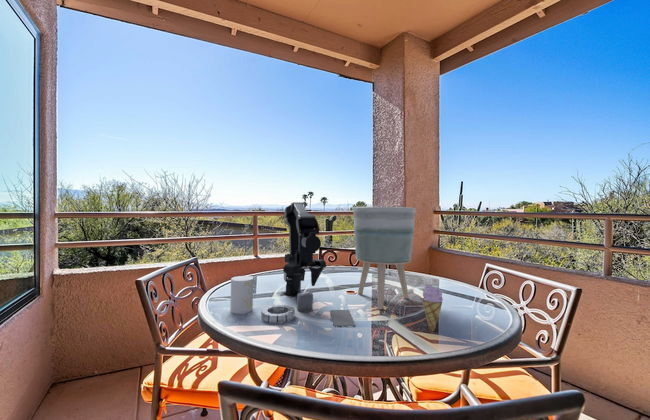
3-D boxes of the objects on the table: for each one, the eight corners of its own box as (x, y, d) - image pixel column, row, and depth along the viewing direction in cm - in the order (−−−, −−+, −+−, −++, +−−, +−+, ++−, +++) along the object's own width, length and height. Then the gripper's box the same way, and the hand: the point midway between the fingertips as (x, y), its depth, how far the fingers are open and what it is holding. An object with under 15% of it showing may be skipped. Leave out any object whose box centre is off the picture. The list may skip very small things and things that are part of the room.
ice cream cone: (418, 326, 96) (418, 281, 96) (435, 325, 97) (436, 281, 97) (426, 334, 90) (427, 286, 90) (445, 334, 90) (446, 286, 90)
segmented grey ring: (279, 309, 110) (279, 302, 110) (300, 316, 103) (301, 309, 103) (254, 317, 101) (255, 310, 101) (276, 326, 94) (277, 318, 94)
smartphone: (333, 325, 94) (329, 309, 109) (333, 328, 94) (329, 312, 109) (355, 325, 95) (349, 309, 110) (355, 328, 95) (349, 312, 110)
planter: (418, 297, 130) (420, 208, 130) (406, 315, 106) (408, 207, 106) (363, 288, 142) (364, 207, 142) (341, 303, 118) (343, 206, 119)
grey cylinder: (246, 314, 104) (247, 281, 104) (226, 312, 106) (226, 280, 106) (256, 307, 112) (256, 276, 112) (237, 305, 114) (237, 275, 114)
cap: (304, 306, 114) (304, 289, 115) (315, 309, 111) (316, 292, 111) (293, 310, 110) (294, 292, 110) (305, 313, 106) (305, 295, 106)
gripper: (306, 244, 123) (305, 280, 123) (273, 248, 108) (272, 289, 108) (327, 246, 116) (326, 285, 116) (294, 251, 101) (293, 295, 101)
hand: (305, 288), depth 110 cm, fingers open, 9 cm apart
